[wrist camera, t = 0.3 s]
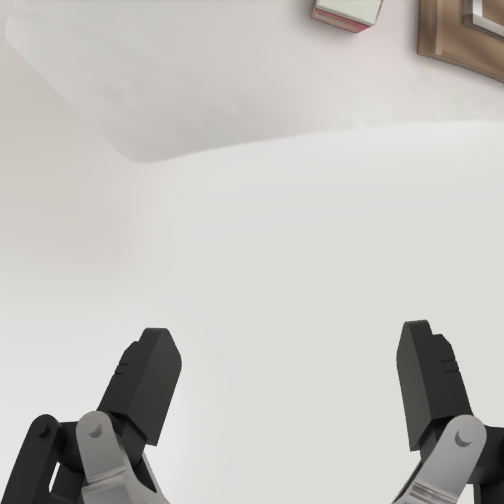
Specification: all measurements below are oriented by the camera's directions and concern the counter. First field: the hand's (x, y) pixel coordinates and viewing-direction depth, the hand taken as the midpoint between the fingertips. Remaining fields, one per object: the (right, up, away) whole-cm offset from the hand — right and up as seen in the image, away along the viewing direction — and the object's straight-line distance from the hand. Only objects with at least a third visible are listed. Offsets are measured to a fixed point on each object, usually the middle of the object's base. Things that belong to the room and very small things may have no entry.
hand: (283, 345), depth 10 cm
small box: (+8, +27, +14) cm, 32 cm away
